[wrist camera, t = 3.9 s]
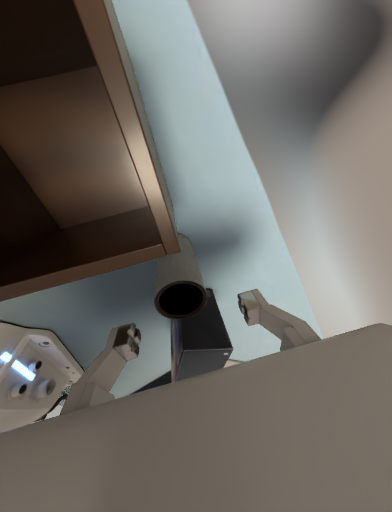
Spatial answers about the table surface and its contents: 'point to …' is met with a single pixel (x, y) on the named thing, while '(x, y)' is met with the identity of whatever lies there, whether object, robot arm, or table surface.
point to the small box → (199, 342)
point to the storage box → (74, 150)
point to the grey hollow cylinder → (179, 284)
